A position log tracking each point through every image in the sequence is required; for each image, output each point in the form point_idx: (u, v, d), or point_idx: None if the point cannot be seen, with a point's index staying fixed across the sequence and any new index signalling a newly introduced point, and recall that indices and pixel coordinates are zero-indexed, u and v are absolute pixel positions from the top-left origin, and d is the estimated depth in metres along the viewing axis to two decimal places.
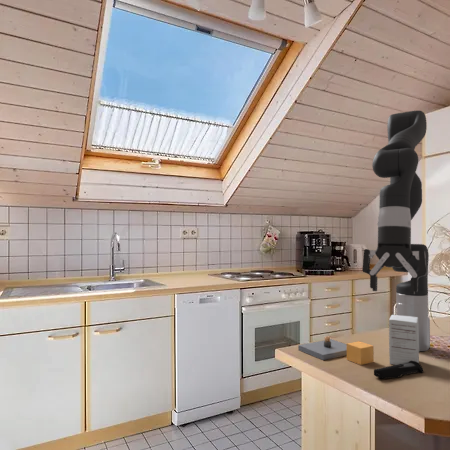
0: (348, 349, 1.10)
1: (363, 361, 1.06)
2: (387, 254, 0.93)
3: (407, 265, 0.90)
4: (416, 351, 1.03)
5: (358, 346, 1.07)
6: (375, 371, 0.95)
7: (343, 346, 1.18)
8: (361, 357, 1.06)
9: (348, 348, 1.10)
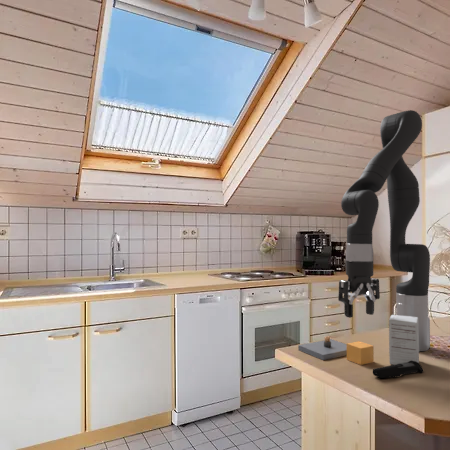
0: (348, 349, 1.10)
1: (363, 361, 1.06)
2: (362, 285, 1.07)
3: (372, 292, 1.10)
4: (416, 351, 1.03)
5: (358, 346, 1.07)
6: (374, 370, 0.96)
7: (343, 346, 1.18)
8: (361, 357, 1.06)
9: (348, 348, 1.10)
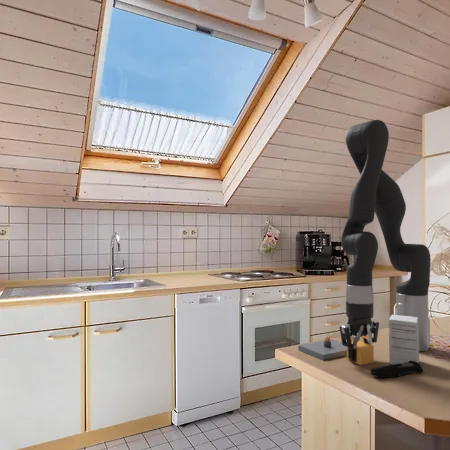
0: None
1: (363, 361, 1.06)
2: (362, 327, 1.07)
3: (370, 335, 1.09)
4: (416, 351, 1.03)
5: (359, 346, 1.07)
6: (372, 370, 0.96)
7: (343, 346, 1.18)
8: (361, 357, 1.06)
9: None
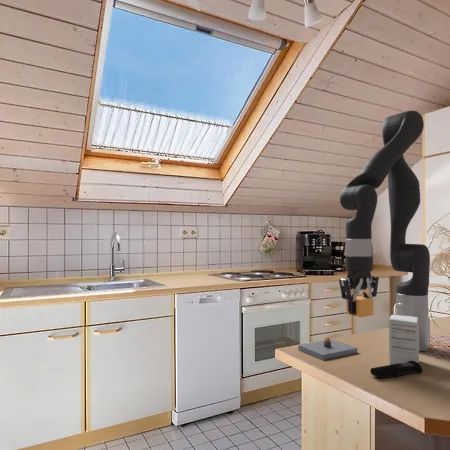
0: None
1: (363, 313, 1.07)
2: (361, 280, 1.07)
3: (370, 289, 1.09)
4: (416, 351, 1.03)
5: (358, 299, 1.08)
6: (371, 370, 0.96)
7: (343, 346, 1.18)
8: (361, 309, 1.06)
9: None
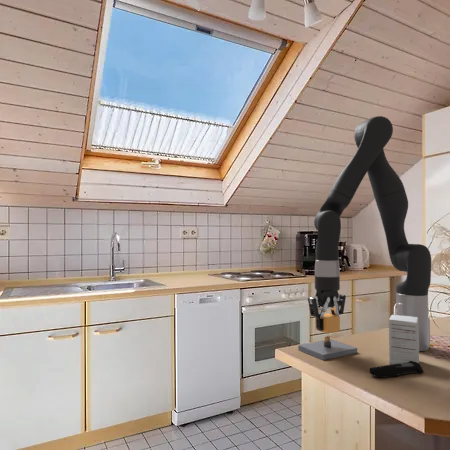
0: None
1: (329, 330, 1.15)
2: (328, 298, 1.16)
3: (337, 307, 1.18)
4: (416, 351, 1.03)
5: (326, 316, 1.16)
6: (370, 369, 0.97)
7: (343, 346, 1.18)
8: (327, 326, 1.14)
9: None
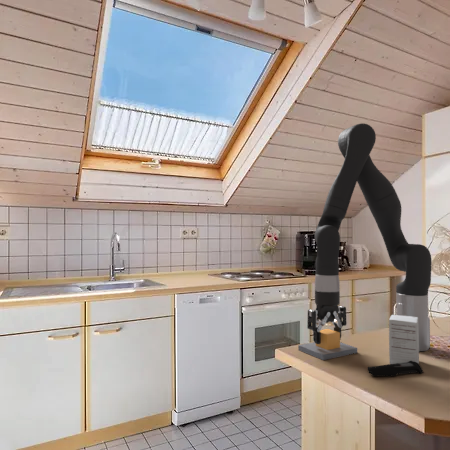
0: None
1: (330, 346, 1.15)
2: (329, 313, 1.16)
3: (338, 320, 1.18)
4: (416, 351, 1.03)
5: (326, 333, 1.16)
6: (369, 369, 0.97)
7: (343, 346, 1.18)
8: (327, 343, 1.14)
9: None
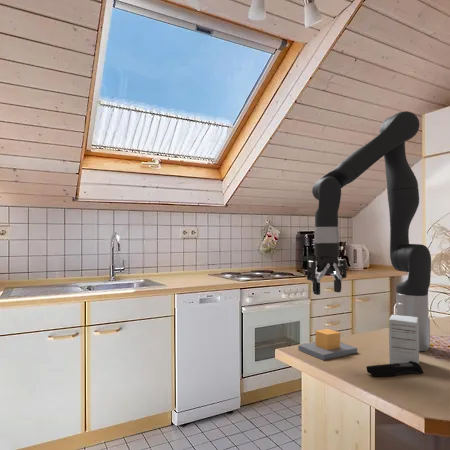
0: (317, 336, 1.18)
1: (330, 346, 1.15)
2: (328, 264, 1.16)
3: (338, 272, 1.19)
4: (416, 351, 1.03)
5: (326, 333, 1.16)
6: (367, 368, 0.98)
7: (343, 346, 1.18)
8: (327, 343, 1.14)
9: (317, 335, 1.18)
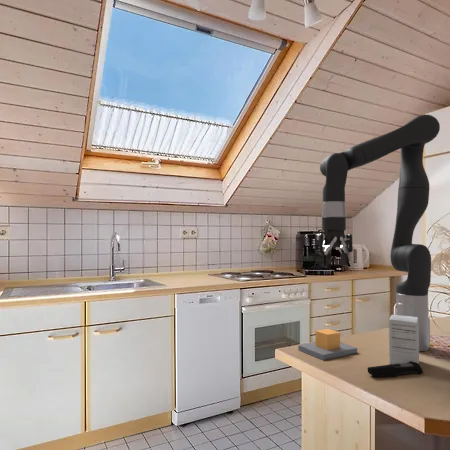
0: (317, 336, 1.18)
1: (330, 346, 1.15)
2: (335, 238, 1.21)
3: (345, 245, 1.23)
4: (416, 351, 1.03)
5: (326, 333, 1.16)
6: (368, 369, 0.97)
7: (343, 346, 1.18)
8: (327, 343, 1.14)
9: (317, 335, 1.18)
